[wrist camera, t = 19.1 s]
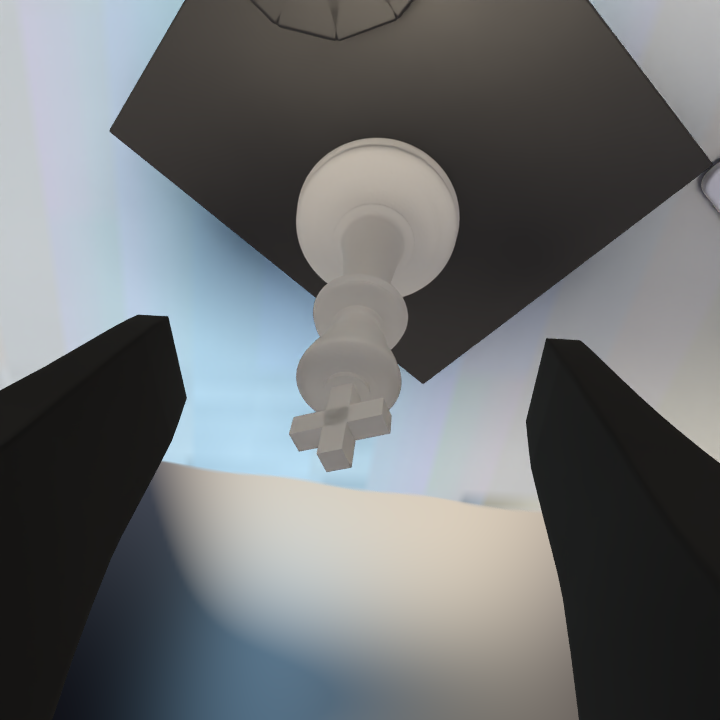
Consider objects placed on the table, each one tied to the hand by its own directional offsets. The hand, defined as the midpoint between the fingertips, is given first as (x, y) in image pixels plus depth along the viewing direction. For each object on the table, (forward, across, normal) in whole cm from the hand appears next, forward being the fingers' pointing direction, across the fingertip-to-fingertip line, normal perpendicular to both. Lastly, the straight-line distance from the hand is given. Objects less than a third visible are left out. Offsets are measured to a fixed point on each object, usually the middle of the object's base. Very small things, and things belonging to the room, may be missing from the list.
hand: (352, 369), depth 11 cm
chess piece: (+8, 0, 0) cm, 8 cm away
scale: (+9, -1, -2) cm, 9 cm away
